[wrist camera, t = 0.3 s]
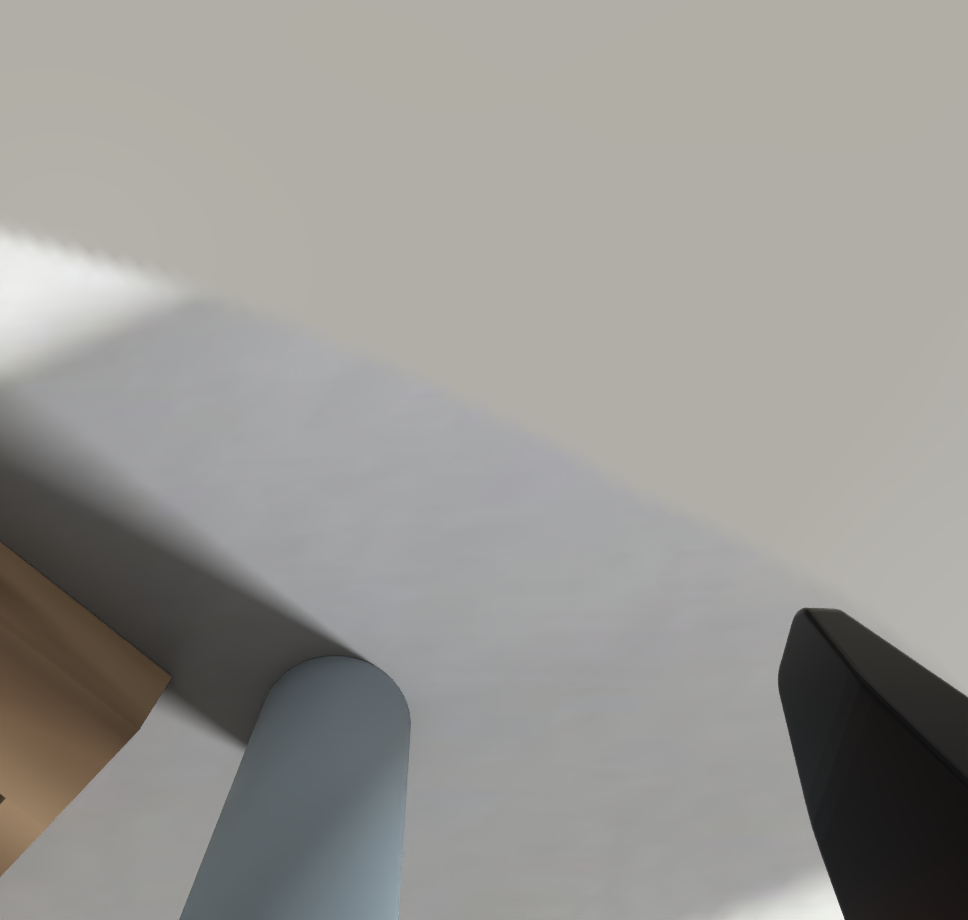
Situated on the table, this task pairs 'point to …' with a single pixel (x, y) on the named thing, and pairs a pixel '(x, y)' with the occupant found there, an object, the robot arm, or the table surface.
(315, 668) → the peg
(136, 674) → the wooden peg holder
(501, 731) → the table surface
